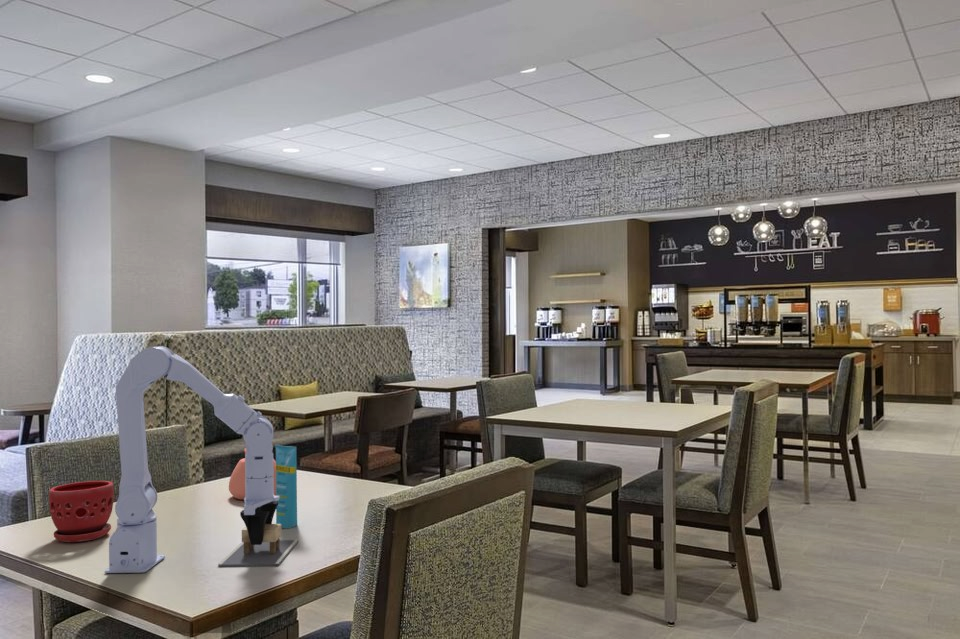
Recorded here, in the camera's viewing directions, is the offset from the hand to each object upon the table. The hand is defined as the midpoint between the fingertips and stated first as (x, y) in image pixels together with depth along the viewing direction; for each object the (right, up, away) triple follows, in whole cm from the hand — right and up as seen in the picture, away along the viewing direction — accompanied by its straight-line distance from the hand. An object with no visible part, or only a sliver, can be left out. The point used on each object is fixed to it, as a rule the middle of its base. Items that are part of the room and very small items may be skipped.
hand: (260, 540), depth 154 cm
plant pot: (-45, -4, +14) cm, 47 cm away
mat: (0, -3, 0) cm, 3 cm away
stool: (0, -2, 0) cm, 2 cm away
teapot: (-17, -3, +53) cm, 56 cm away
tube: (0, -3, +21) cm, 21 cm away
